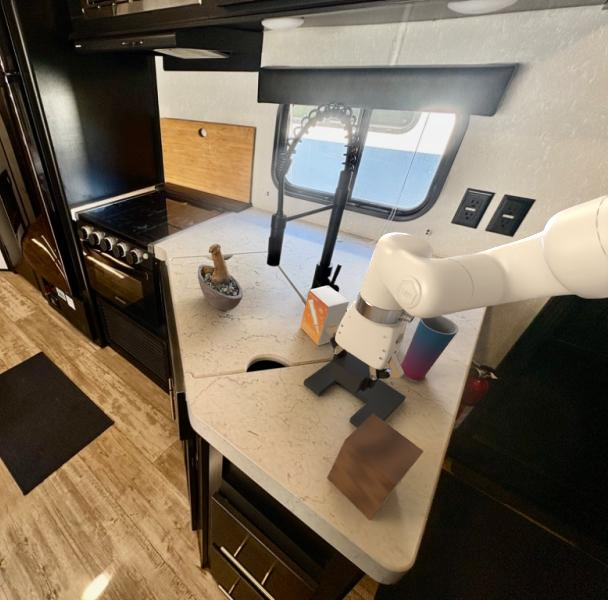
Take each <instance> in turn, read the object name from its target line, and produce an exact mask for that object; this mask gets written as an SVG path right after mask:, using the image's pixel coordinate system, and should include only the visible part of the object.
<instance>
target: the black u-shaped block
mask: <svg viewBox="0 0 608 600" xmlns="http://www.w3.org/2000/svg"><path fill="white" fill-rule="evenodd" d="M332 365H333V362H332V360H330V361H329V362H328V363H326V364H325V365H323V366H322V367H321V368H319V369H317V370H316V371H315V372H314V373H312V374H311V375H309V376H308V377H306V378H304V381H303V385H304V386H305V387H306V388H307V389H309V390H310V391H311V392H312V393H313V394H315V395H316V396H317V397H319V396H321V395H322V394H324V393H325V392H326V391H327V390H329V389H330V388H331V387H332V386H334V385H335V384H338V385H339V386H341V387H342V388H343V389H345V390H346V391H347V392H349V393H350V394H351V395H353V396H354V397H356V399H358V400H359V401H361V402H362V403H364V405H362V406H361V407H360V408H359V409H358V410H357V411H356V412H355V413H354V414H352V415H351V417H350V418H349V423H350V424H352V425H353V426H354V427H355V428H356V429H357V428H358V427H359V426H360V425H361V424H362V423H363V422H364V421H365V420H366V419H367V418H369V417H370V416H371V415H372V414H373V413H374V414H375V415H376V416H378V417H379V418H380V419H382V420H383V421H384V422H385V421H386V420H387V419H388V418H389V417H390V416H391V415H392V414H394V412H395V411H396V410H397V409H398V408H399V407H400V406H402V404H403V403H404V402H405V400H406V398H407V396H405V395H404V394H402V393H401V392H399V391H398V389H397V390H396V389H395V388H394V387H392V386H391V385H389V384H388V383H386V382H384V380H382V379H378V380H377V382H376V384H375V386H374V387H373V388H372V389H370V388H367V389H366V390H365V391H364V392H363V391H362V390H360V391H359V392H358V393H357V394H354V393H352V392H351V391H350V390H348V389H347V388H346V387H344V386H343V385H342V384H340V383H339V382H338V381H336V380H335V379H334V378H332V377H331V376H330V372H331V369H332V368H331V367H332Z"/></svg>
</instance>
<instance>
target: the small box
mask: <svg viewBox="0 0 608 600" xmlns="http://www.w3.org/2000/svg"><path fill="white" fill-rule="evenodd" d="M349 304H350V301H349V300H348V299H346V297H344V296H343V295H342V294H340V293H339V292H338V291H336V290H335V289H334V288H333V287H331V286H330V285H324V286H319V287H316V288H311V289H309V290H308V293H307V297H306V302H305V306H304V310H303V314H302V319H301V323H300V329H301V330H302V331H304V333H305V334H306V335H307V336H308V337H309V338H310V339H311V340H312V341H313V342H314V344H315V345H317V346H322V345H325V344H328V343H331V342H330V338H329V336H328V334H327V332H326V329H327V328H329V327H330V326H335V325H339V324H340V323H341V321H342V319H343V317H344V315H345V313H346V312H347V310H348V308H349Z"/></svg>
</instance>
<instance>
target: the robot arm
mask: <svg viewBox="0 0 608 600" xmlns="http://www.w3.org/2000/svg"><path fill="white" fill-rule="evenodd" d="M433 255H434V249H433V245H431V243H430V242H429V241H428V240H426V239H425V238H423V237H420V236H417V235H414V234H410V233H405V232H390V233H387V234H384V235H383V236H381V237H380V238H379V239H378V241H377V243H376V244H375V247H374V250H373V253H372V256H371V259H370V261H369V264H368V267H367V269H366V273H365V275H364V278H363V281H362V284H361V287H360V290H359V292H358V295H357V298H356V299H355V300H354V301H352V303H351V304H350V305H349V306H348V307H347V310H346V313H345V315H344V317H343V319H342V321H341V323H340V324H339V325H335V326H330V327H329V328H327V329H326V332H327V334H328V336H329V338H330V342H329V343H330V344H331V346H332V348H333V349H332V353H333V357H332V358H331V359H332V360H331V361H332V362H333V363H334V362H335V361H336V360H337V359H339V358H340V357H342V356H343V355H344V354H346V353H347V352H349V353H351V354H353V355H354V356H356V357H357V358H359V359H360V360H362V361H363V362H365V363H366V364H368V365H369V371H370V374H368V375H367V376H366V378H365V380H364V383H363V385H362V387H361V390H362V391H363V392H364V391H365V390H366V389H367V388H370V389H372V388H373V387H374V386H375V384H376V382H377V380H378V379H380V380H387V379H400V378H401V377H403V376H405V375H404V371H403V369H402V367H401V365H402V364H401V363H400V361H399V359H398V354H399V351H400V348H401V346H402V343H403V340H404V337H405V334H406V329H407V324H408V323H409V324H411V323H412V322H413V321H414V319H415V318H418V319H421V318H432V317H438V316H443V317H444V316H448V315H451V314H456V313H461V312H467V311H470V310H471V311H472V310H476V309H477V310H478V309H481V308H487V307H492V306H493V307H494V306H497V305H504V304H510V303H511V304H512V303H515V302H516V303H517V302H523V301H531V300H536V299H543V298H549V297H557V296H559V297H560V296H570V295H576V296H578V297H580V298H583V299H606V298H608V194H604V195H602V196H599V197H597V198H593V199H590V200H587V201H584V202H582V203H579V204H576V205H573V206H570V207H567V208H565V209H563V210H561V211H559V212H557V213H555V214H554V215H553V216H552V217H550V219H549V220H548V221H547V223H546V225H545V227H544V229H543V231H541V232H538V233H536V234H534V235H530V236H528V237H525V238H522V239H519V240H516V241H513V242H510V243H507V244H504V245H500V246H496V247H493V248H489V249H486V250H483V251H479V252H475V253H470V254H462V255H456V256H449V257H443V258H433ZM387 365H388V366H389V368H385V367H386V366H387ZM332 366H333V365H332ZM331 368H332V367H331Z"/></svg>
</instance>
